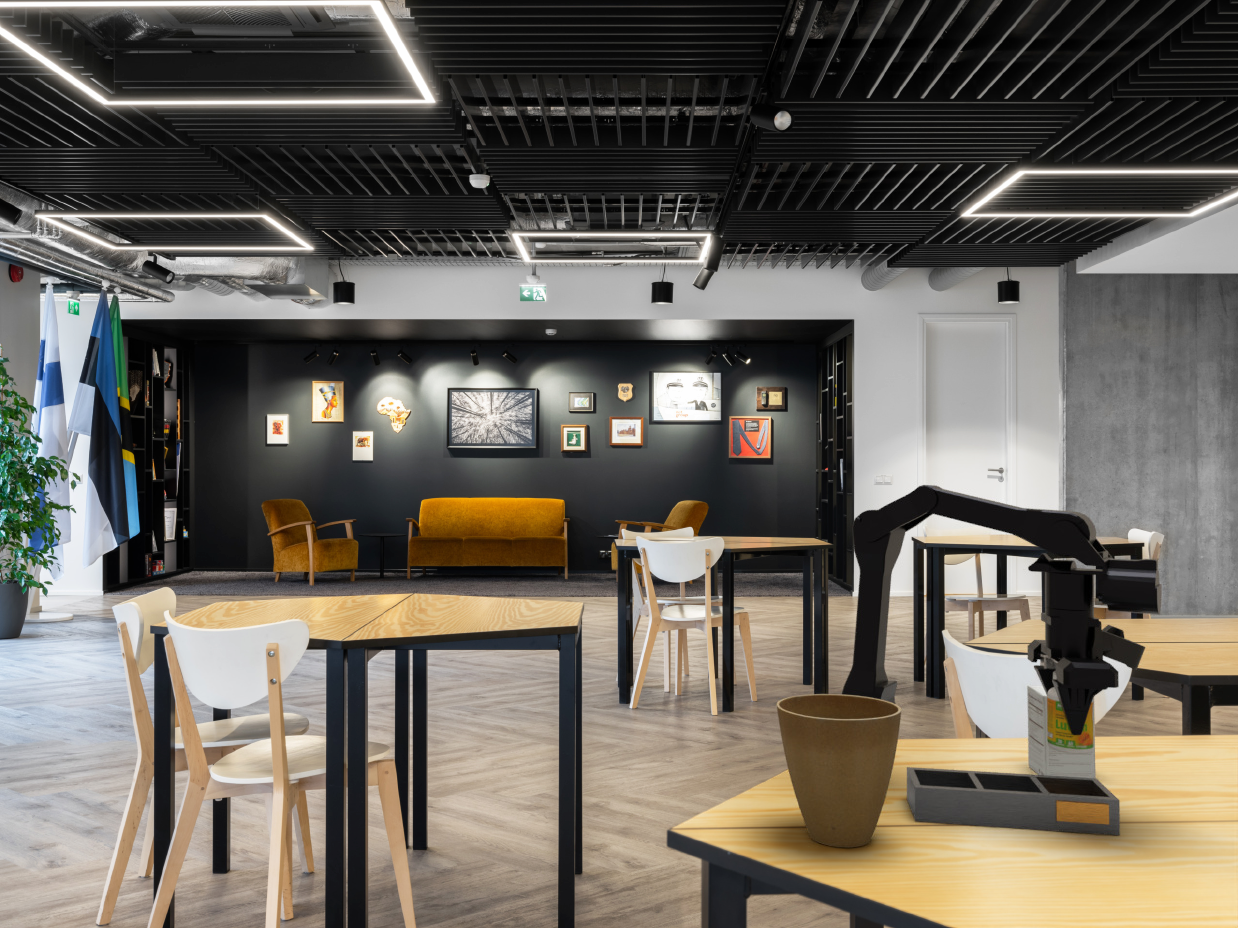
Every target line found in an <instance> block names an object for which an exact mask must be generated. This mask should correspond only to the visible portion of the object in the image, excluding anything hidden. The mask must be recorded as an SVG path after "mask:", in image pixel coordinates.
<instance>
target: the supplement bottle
mask: <svg viewBox="0 0 1238 928" xmlns="http://www.w3.org/2000/svg"><path fill="white" fill-rule="evenodd" d="M1053 679H1057V676H1056V671H1054V672H1053ZM1047 743H1048V746H1049V747H1050V748H1052V749H1054V750H1057V751H1060V752H1065V753H1073V754H1086V753H1091V752H1092V751H1093V700H1092V703H1091V705H1090V708H1089V712H1088V715H1087V718H1086V721H1085V724H1084V728H1083V731H1082V734H1081V735H1073V734H1072V733H1071V731H1070V729H1069V726H1068V723H1067V721H1066V718H1065V715H1064V712H1063V710H1062V707H1061V704H1060V701H1059V698H1058V695H1057V693H1056V690H1055V687H1053V688H1051V689H1049V691H1048V693H1047Z"/></svg>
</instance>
